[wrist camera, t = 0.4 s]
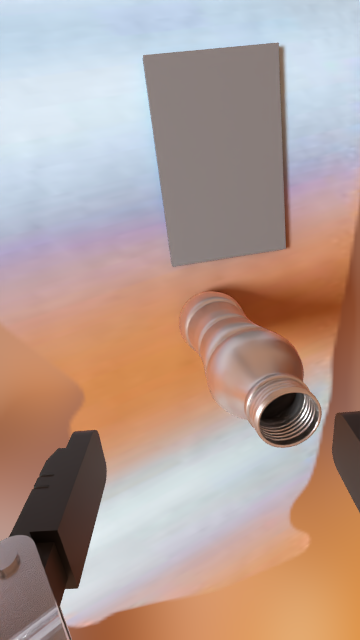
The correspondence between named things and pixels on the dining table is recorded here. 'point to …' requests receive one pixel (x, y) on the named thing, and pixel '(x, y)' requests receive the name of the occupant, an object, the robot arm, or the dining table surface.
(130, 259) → the dining table surface
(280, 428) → the plastic bottle
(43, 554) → the robot arm
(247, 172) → the grey rubber mat
